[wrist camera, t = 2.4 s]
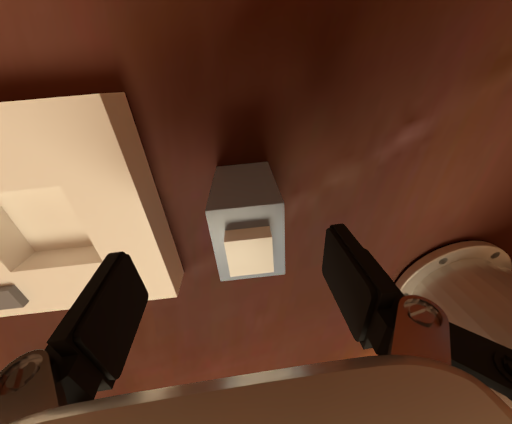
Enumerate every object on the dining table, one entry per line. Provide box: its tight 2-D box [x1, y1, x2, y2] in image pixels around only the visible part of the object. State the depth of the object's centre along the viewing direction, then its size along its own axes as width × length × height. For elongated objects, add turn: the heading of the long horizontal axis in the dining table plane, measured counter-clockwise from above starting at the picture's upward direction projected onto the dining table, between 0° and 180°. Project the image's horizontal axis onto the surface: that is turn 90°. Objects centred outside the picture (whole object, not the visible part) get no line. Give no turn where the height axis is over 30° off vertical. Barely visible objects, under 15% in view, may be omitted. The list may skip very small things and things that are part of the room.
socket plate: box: [0, 92, 184, 317], centre depth 16 cm, size 16×16×4 cm
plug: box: [205, 162, 285, 281], centre depth 15 cm, size 4×5×8 cm
